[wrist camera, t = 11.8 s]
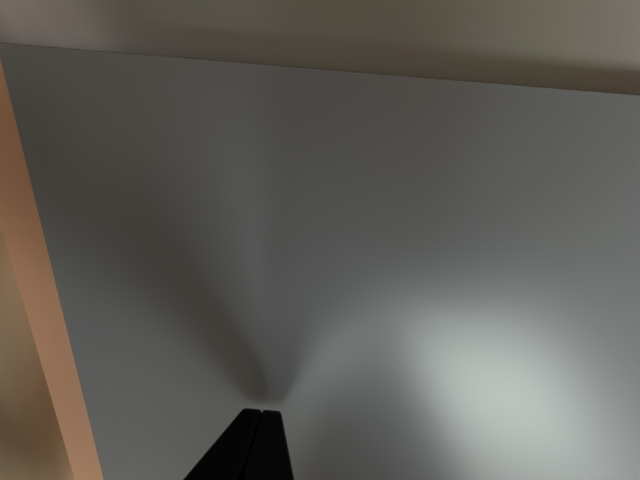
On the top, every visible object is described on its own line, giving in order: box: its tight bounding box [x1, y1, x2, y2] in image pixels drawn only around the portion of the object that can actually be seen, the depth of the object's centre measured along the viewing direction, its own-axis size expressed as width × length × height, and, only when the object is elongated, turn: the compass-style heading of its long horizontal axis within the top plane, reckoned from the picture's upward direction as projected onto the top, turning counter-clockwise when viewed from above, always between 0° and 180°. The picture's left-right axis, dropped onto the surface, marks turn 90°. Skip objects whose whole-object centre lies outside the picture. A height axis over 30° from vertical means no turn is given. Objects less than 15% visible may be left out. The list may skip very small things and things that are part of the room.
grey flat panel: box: [0, 43, 640, 480], centre depth 8 cm, size 14×30×1 cm, turn 86°
